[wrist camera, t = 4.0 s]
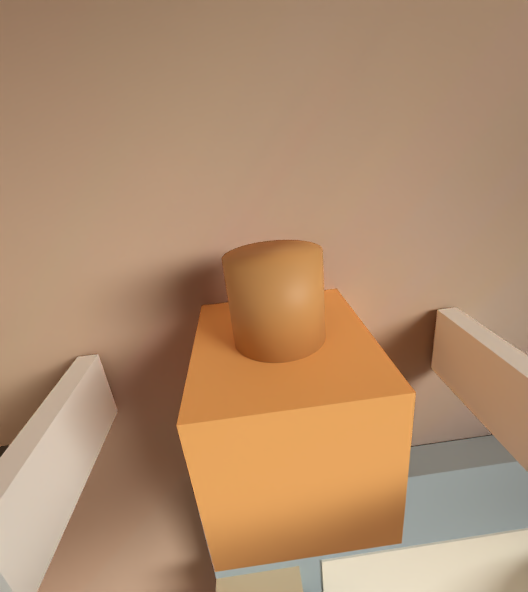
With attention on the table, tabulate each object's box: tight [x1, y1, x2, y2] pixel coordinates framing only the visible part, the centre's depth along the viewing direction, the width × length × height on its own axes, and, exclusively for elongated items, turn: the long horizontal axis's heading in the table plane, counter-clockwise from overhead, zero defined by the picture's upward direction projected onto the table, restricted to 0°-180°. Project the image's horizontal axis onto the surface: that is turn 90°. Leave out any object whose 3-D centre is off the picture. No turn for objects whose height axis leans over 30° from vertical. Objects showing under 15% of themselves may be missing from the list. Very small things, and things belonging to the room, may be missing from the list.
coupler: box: [176, 240, 416, 572], centre depth 11 cm, size 5×10×6 cm, turn 6°
